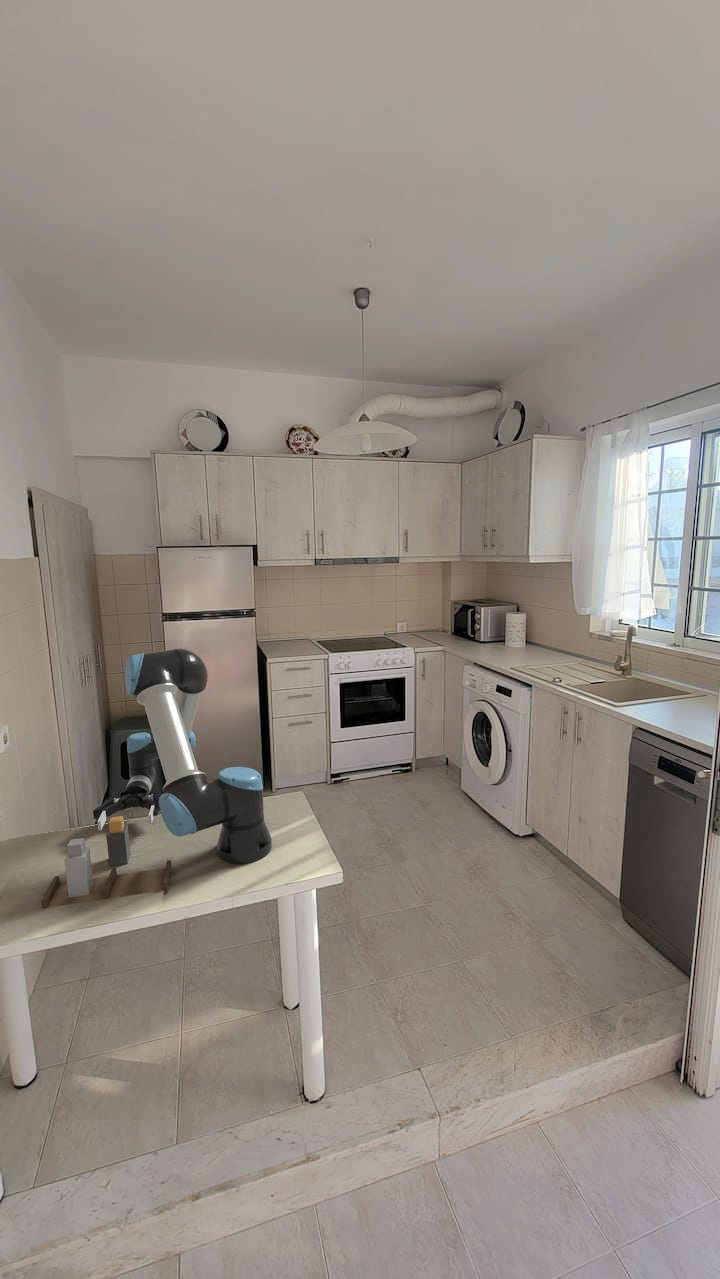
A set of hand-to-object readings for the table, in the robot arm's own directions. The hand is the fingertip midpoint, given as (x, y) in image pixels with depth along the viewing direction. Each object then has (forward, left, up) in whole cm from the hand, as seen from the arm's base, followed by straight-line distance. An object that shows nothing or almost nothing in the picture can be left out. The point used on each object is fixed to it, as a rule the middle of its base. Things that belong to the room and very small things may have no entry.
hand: (124, 822), depth 157 cm
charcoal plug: (0, +10, -7) cm, 12 cm away
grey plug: (+7, +22, -6) cm, 23 cm away
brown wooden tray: (0, +22, -7) cm, 23 cm away
